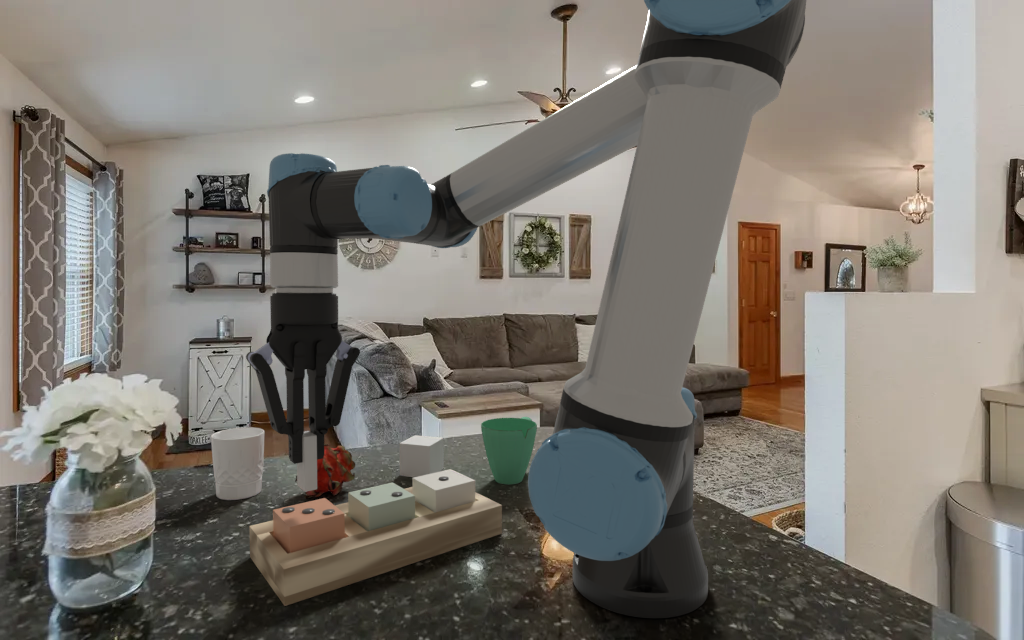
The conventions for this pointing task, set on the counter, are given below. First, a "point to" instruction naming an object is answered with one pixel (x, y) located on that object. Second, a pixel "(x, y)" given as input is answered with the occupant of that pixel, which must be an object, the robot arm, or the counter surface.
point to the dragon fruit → (332, 471)
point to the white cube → (421, 456)
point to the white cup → (238, 462)
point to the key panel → (370, 548)
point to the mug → (509, 447)
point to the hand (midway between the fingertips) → (307, 487)
